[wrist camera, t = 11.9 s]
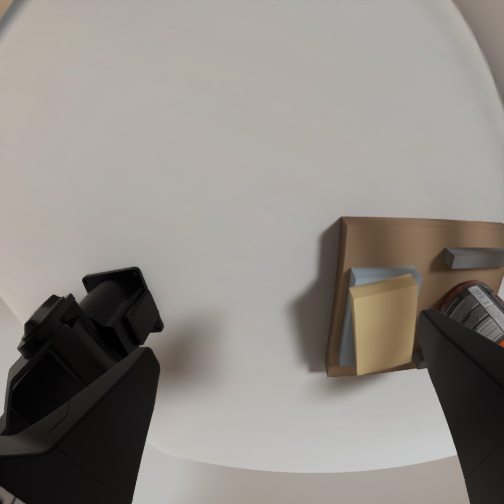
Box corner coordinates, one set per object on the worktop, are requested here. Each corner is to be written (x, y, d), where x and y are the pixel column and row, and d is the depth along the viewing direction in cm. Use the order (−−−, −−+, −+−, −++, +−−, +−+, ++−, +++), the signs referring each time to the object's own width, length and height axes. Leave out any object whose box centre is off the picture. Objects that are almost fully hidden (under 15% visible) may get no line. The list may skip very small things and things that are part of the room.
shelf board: (324, 361, 26) (330, 402, 21) (341, 216, 20) (359, 243, 16) (462, 346, 25) (481, 377, 20) (502, 223, 19) (536, 245, 14)
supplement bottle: (493, 303, 20) (556, 385, 10) (447, 344, 22) (496, 437, 12) (477, 262, 19) (559, 350, 8) (424, 309, 21) (485, 417, 10)
